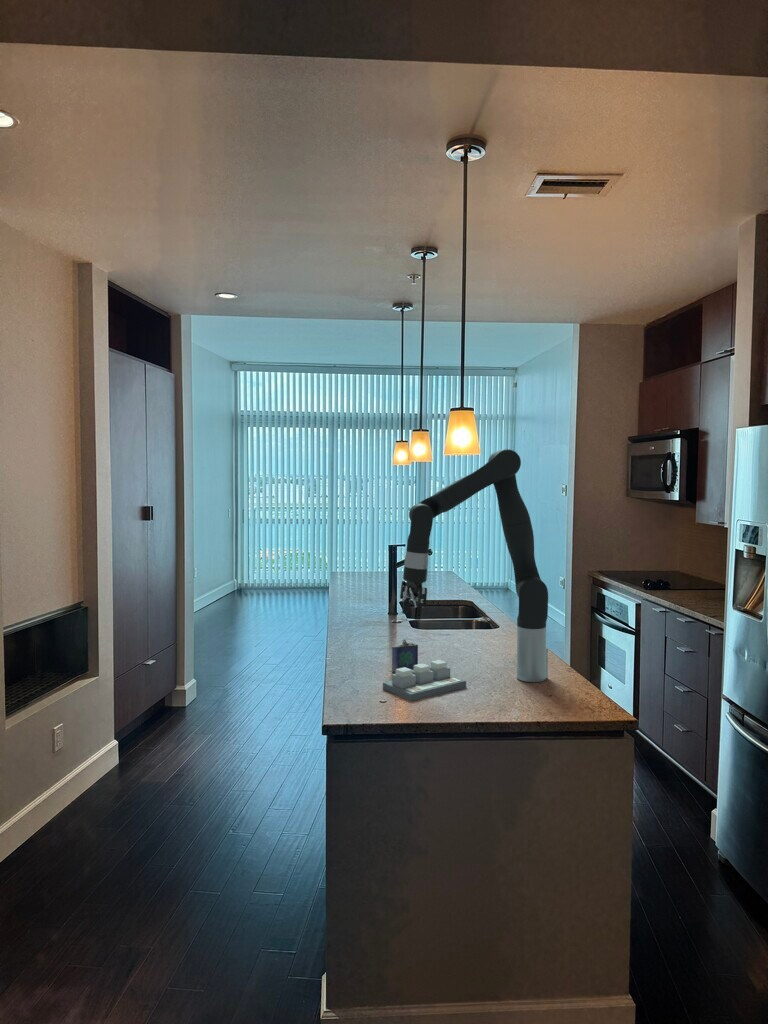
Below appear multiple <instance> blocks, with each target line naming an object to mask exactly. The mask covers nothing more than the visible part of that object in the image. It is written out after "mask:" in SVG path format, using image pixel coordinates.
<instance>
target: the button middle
mask: <svg viewBox="0 0 768 1024" xmlns="http://www.w3.org/2000/svg"><path fill="white" fill-rule="evenodd" d="M430 666H431V665H428V664H425V663H418V664H417V665H414V671H415V672H417V673H420V674H422V673H426V672H430Z"/></svg>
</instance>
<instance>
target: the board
mask: <svg viewBox="0 0 768 1024" xmlns="http://www.w3.org/2000/svg"><path fill="white" fill-rule="evenodd" d="M429 666H430V672H426V673H422V674H420V673H417V672H415V671H414V670H412V676H409V677H404V678H402V677H399V676H397V675H396V673H393V674H391V680H388V681H383V682H382V689H383V690H385V691H387V692H389V693H391V694H394V695H396V696H398V697H401V698H403V699H405V700H407V701H409V702H413V701H417V700H420V699H424V698H428V697H431V696H435V695H439V694H444V693H447V692H453V691H456V690H461V689H464V688H467V680H465V679H463V678H460V677H457V676H454V675H452V674H451V667H449V666H447V668H444V669H440V670H437V669H434V668H431V665H429Z"/></svg>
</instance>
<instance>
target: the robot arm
mask: <svg viewBox="0 0 768 1024" xmlns="http://www.w3.org/2000/svg"><path fill="white" fill-rule="evenodd" d="M521 464H522V460H521V456H520V455H519V453H517V452H516V451H514V450H513V449H510V448H503V449H498V450H496V451H494V452H492V453H491V454H490V456H489V458H488V459H487V462H486V463H484V465H482V466H480V467H479V468H478V469H475V470H474V471H473V472H471V473H469V474H467V475H465V476H464V477H461V478H459V479H456V480H455V481H453V482H451V483H450V484H447V486H445V487H444V488H441V489H440V490H438V491H437V492H436V493H434V494H432V495H431V496H428V497H426V498H425V499H423V500H421V501H419V502H417V503H415V504H414V505H413V506H411V508H410V509H409V512H408V518H409V521H410V527H409V528H410V529H409V534H408V537H407V542H406V552H405V556H404V563H403V574H402V575H403V576H402V579H403V580H402V581H401V587H400V594H399V599H401V601H402V609H401V610H402V611H401V613H402V614H403V615H409V614H410V608H411V601H412V602H413V604H414V610H413V620H416V621H417V620H421V619H422V611H423V610H422V609H423V608H425V607H426V606H427V596H428V588H427V587H423V583H426V582H427V579H428V578H427V577H428V569H429V551H430V550H429V548H430V537H431V533H432V530H433V529H432V528H433V521H434V519H435V518H436V517H438V516H439V515H441V514H443V513H447V512H449V511H451V510H452V509H454V508H456V507H457V506H459V505H460V504H462V503H464V502H465V501H467V500H468V499H469V498H471V497H473V496H474V495H476V494H478V493H479V492H481V491H482V490H484V489H486V488H488V487H490V486H491V485H493V486H494V487H493V488H494V490H495V493H496V498H497V505H498V510H499V511H498V512H499V516H500V521H501V526H502V531H503V536H504V538H505V544H506V547H507V549H508V553H509V555H510V560H511V562H512V566H513V574H514V583H515V584H514V585H515V592H516V595H517V597H518V615H517V620H516V678H517V680H520V681H521V682H526V683H527V682H528V683H541V682H544V681H546V679H548V678H549V676H548V674H549V670H548V669H549V668H548V667H549V661H548V660H549V649H548V648H547V620H548V615H549V613H548V612H549V590H548V587H547V585H546V584H545V582H544V581H543V580H542V579H541V577H540V574H539V570H538V567H537V564H536V560H535V538H534V537H535V536H534V529H533V526H532V525H533V524H532V520H531V517H530V514H529V511H528V508H527V506H526V504H525V501H524V499H523V498H522V496H521V494H520V491H519V487H518V483H517V475H516V474H517V473H518V472H519V471H520V468H521Z"/></svg>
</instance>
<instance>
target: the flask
mask: <svg viewBox="0 0 768 1024" xmlns="http://www.w3.org/2000/svg"><path fill="white" fill-rule="evenodd" d="M401 641H402V643H401V644H395V645H392V647H391V652H392V653H391V671H392V673H393V674H396V669H399V668H403V667H406V668H409V669H411V670H414V665H417V664H419V657H418V656H419V645H418V644H417V643H414V642H407V640H406V639H402V640H401Z"/></svg>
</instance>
